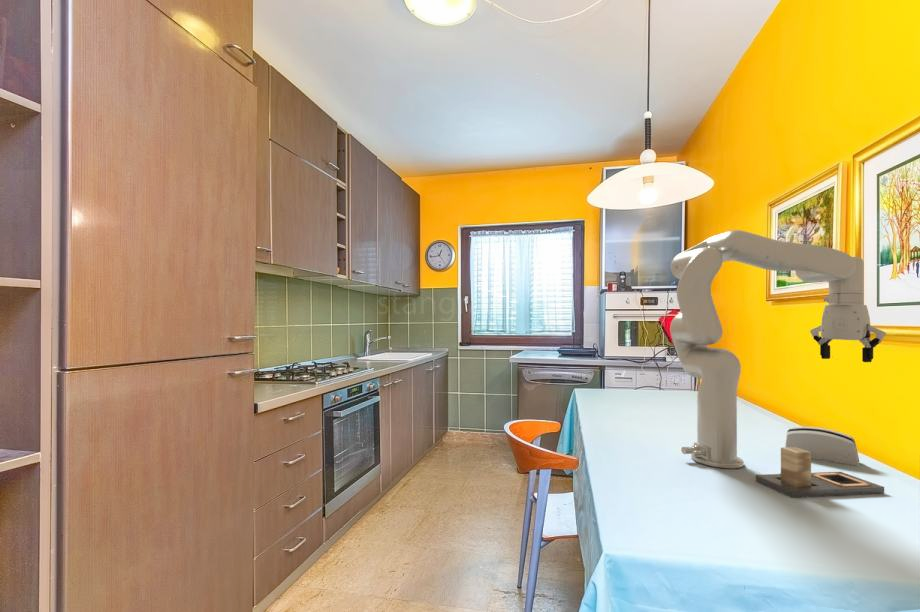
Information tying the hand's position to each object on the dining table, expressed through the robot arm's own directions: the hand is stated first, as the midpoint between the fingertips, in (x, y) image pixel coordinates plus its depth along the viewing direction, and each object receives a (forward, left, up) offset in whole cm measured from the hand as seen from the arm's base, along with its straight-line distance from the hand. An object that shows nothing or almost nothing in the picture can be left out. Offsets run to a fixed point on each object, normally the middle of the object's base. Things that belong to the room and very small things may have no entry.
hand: (845, 360), depth 123 cm
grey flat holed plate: (-27, -16, -29) cm, 42 cm away
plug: (-33, -16, -29) cm, 46 cm away
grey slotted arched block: (-5, +3, -29) cm, 30 cm away
